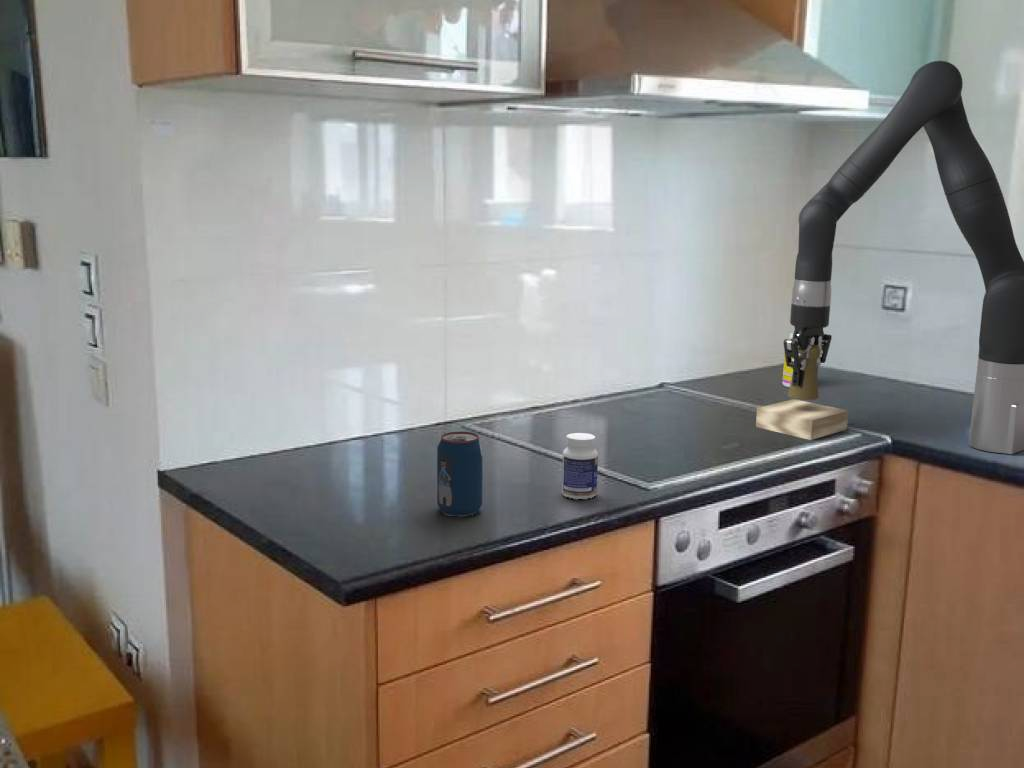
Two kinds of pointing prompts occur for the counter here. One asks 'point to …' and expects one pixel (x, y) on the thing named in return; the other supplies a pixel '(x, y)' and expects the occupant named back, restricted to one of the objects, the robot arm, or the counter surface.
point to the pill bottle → (580, 467)
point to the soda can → (459, 473)
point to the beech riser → (802, 419)
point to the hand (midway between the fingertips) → (804, 385)
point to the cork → (807, 377)
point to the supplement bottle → (787, 371)
